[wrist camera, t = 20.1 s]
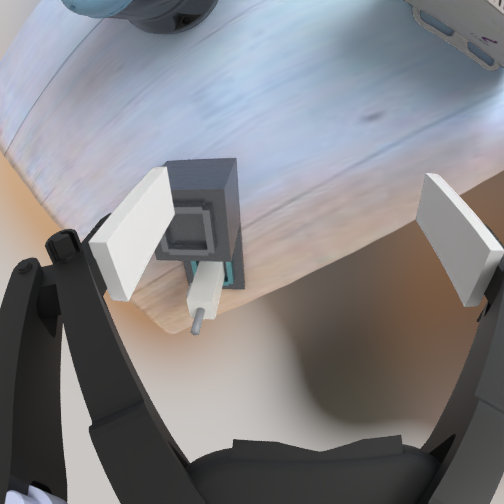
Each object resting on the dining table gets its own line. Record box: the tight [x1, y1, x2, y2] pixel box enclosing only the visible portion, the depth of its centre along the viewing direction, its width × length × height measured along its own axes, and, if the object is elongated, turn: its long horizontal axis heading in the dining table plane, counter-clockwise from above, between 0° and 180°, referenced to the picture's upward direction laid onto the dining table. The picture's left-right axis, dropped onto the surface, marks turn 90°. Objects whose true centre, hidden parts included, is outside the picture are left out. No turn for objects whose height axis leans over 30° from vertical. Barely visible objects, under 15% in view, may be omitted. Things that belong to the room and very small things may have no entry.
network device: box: [403, 0, 504, 71], centre depth 22 cm, size 26×9×20 cm, turn 75°
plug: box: [186, 261, 225, 335], centre depth 56 cm, size 5×4×17 cm
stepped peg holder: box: [155, 158, 245, 289], centre depth 53 cm, size 13×28×13 cm, turn 2°
